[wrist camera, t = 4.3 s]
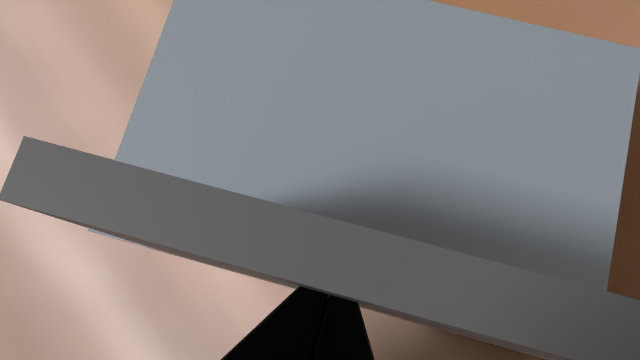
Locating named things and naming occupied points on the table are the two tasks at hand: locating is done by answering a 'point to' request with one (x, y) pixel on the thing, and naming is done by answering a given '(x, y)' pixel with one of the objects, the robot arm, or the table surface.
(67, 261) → the table surface
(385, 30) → the carton lid
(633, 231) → the table surface
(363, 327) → the robot arm
